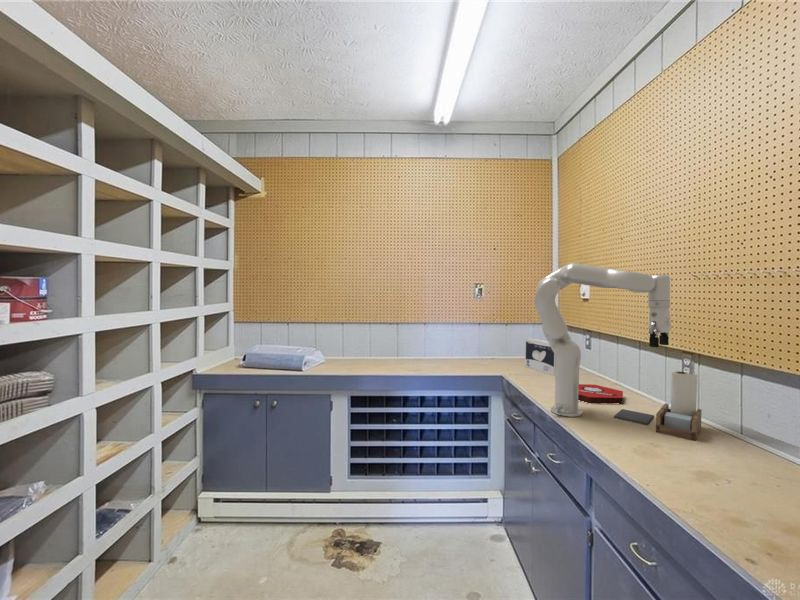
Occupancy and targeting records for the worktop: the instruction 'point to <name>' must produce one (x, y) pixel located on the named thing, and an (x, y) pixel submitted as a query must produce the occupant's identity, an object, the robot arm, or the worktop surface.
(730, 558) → the worktop surface
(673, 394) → the paper towel roll
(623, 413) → the mat
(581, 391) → the plaque
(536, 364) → the packaging
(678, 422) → the offcut block
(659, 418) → the rack
